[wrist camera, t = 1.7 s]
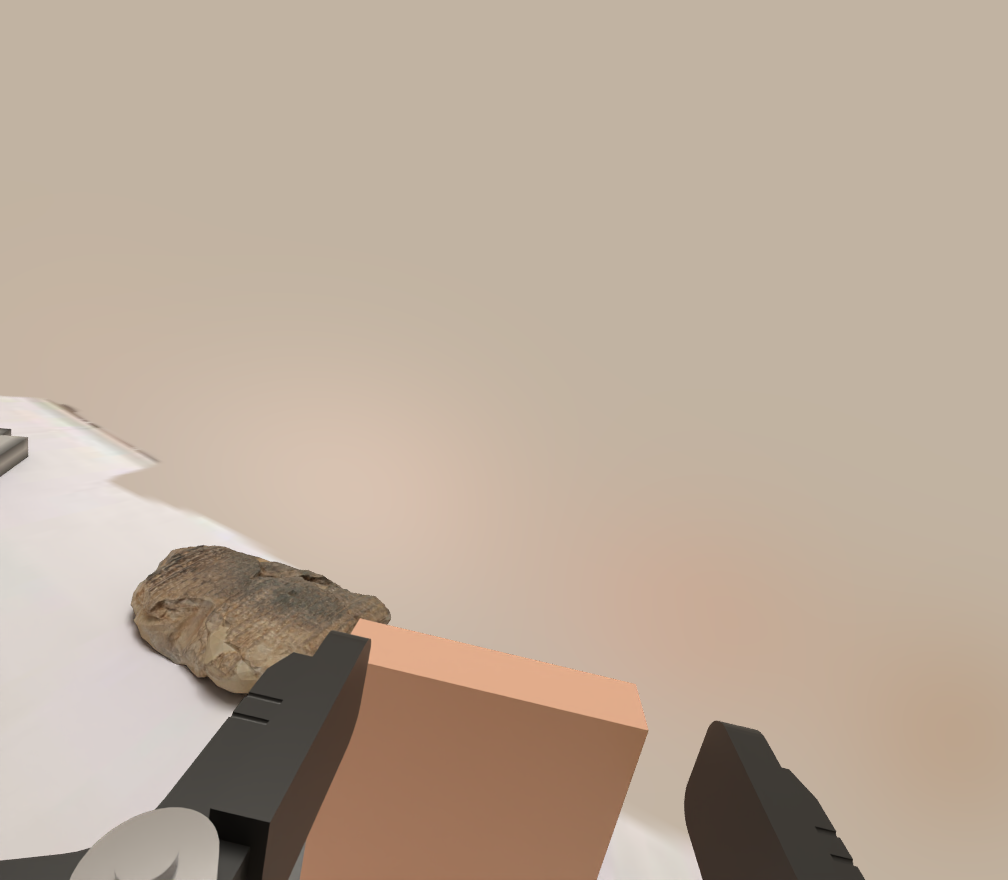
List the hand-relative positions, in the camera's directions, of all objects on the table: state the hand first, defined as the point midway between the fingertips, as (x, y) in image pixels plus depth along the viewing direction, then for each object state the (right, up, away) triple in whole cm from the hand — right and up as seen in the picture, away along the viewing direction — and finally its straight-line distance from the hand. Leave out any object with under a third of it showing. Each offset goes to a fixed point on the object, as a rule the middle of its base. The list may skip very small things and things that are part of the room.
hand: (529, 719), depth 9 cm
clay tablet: (-22, -11, +33) cm, 41 cm away
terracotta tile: (-4, -18, +14) cm, 24 cm away
